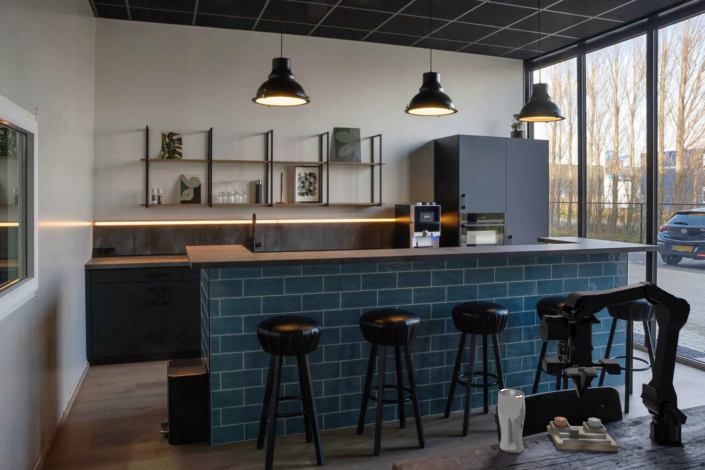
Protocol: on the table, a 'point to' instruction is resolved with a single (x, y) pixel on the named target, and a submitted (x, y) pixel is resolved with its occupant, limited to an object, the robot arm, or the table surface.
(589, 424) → the grey button
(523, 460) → the table surface
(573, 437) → the block
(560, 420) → the terracotta button
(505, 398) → the beer glass
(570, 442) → the control panel
